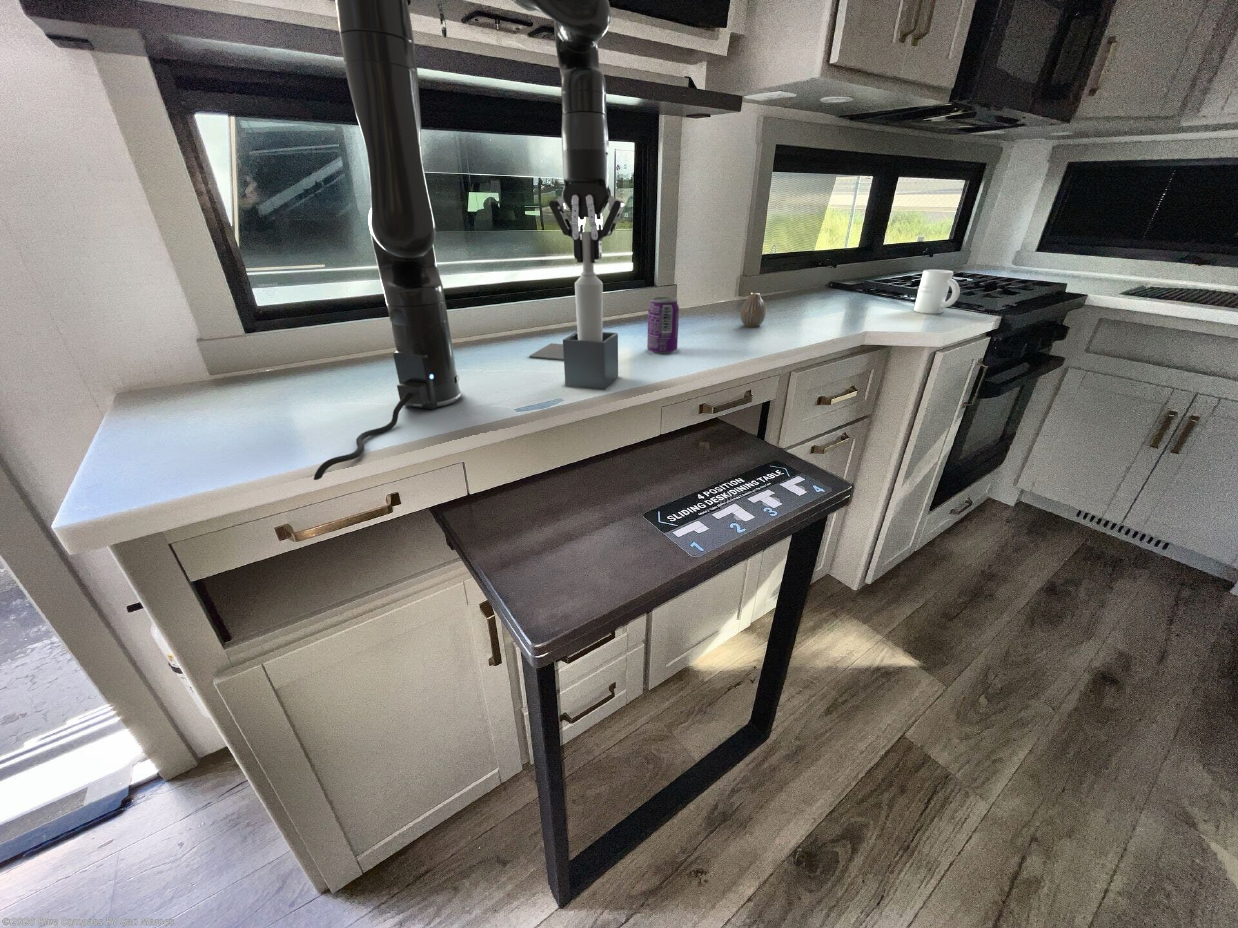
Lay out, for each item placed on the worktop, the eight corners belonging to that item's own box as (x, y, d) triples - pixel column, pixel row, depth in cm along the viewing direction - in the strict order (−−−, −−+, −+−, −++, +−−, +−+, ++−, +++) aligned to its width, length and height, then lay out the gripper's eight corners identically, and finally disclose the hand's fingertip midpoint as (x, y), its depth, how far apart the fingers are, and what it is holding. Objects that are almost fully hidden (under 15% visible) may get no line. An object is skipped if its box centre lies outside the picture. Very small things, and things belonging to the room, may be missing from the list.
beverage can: (682, 350, 121) (685, 298, 116) (668, 357, 116) (670, 303, 110) (656, 346, 125) (658, 295, 119) (641, 352, 120) (642, 300, 114)
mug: (944, 317, 153) (956, 275, 147) (907, 310, 162) (917, 270, 156) (960, 314, 156) (972, 273, 151) (923, 307, 165) (933, 268, 160)
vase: (735, 326, 143) (738, 294, 139) (745, 322, 148) (748, 290, 144) (758, 329, 140) (762, 296, 136) (767, 324, 145) (771, 293, 141)
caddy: (605, 390, 96) (604, 343, 92) (565, 386, 98) (562, 339, 94) (618, 377, 103) (617, 332, 99) (580, 373, 105) (579, 330, 101)
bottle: (580, 376, 97) (575, 232, 85) (575, 368, 101) (569, 231, 90) (607, 373, 98) (605, 232, 86) (600, 366, 102) (598, 231, 91)
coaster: (577, 361, 113) (577, 360, 113) (529, 357, 116) (529, 356, 116) (596, 348, 123) (596, 346, 123) (551, 345, 126) (551, 343, 126)
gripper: (536, 148, 81) (543, 263, 89) (618, 145, 77) (618, 266, 85) (555, 152, 87) (561, 259, 95) (632, 149, 84) (631, 261, 92)
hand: (588, 262), depth 90 cm, fingers closed on bottle, 2 cm apart
